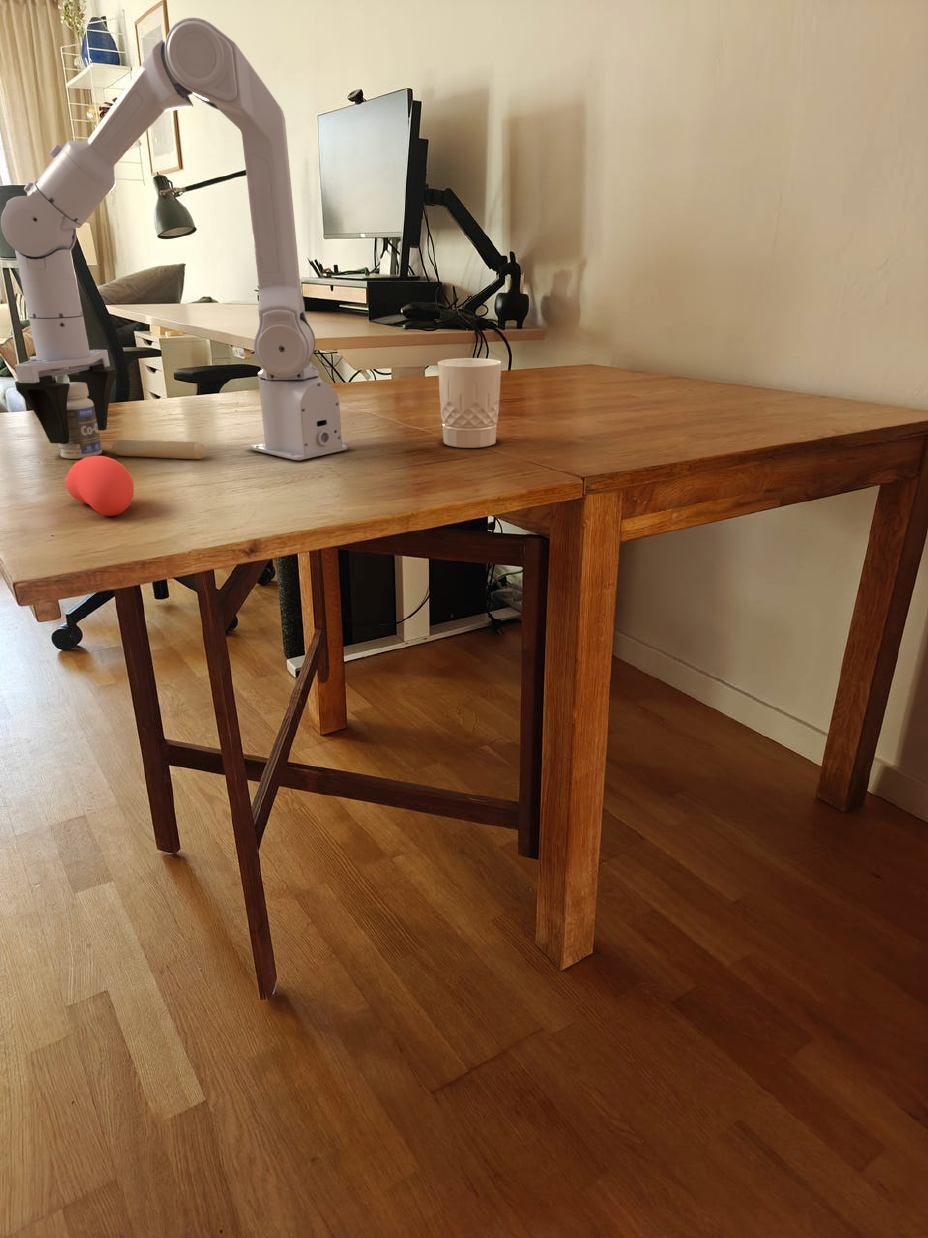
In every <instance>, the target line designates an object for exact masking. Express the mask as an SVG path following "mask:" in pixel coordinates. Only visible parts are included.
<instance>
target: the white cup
mask: <svg viewBox="0 0 928 1238" xmlns="http://www.w3.org/2000/svg"><path fill="white" fill-rule="evenodd" d="M437 373H438V392H439V393H438V394H439V404H440V405H439V407H440V416H441V417H440V418H441V419H440V420H441V422H442V438H443V439H442V440H443V444H445V445H446V446H449V447H454V448H462V449H477V448H478V449H479V448H486V447H490V446H492V445H495V444H496V440H497V426H498V424H497V423H498V421H499V410H500V397H501V396H500V395H501V380H502V379H501V377H502V361H501V360H498V359H493V358H484V357H483V358H481V357H480V358H479V357H460V358H459V357H458V358H457V357H456V358H447V359H442V360H439V361H437Z"/></svg>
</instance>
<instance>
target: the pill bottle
mask: <svg viewBox="0 0 928 1238" xmlns="http://www.w3.org/2000/svg"><path fill="white" fill-rule="evenodd" d="M68 383H69V384H70V387H69V391H68V397H67V419H68V427H69V443H66V444H58V443H57V446H58V450H59V451H58V452H59V454H60V457H62V458H63V459H71V460H75V459H76V460H82V459H83V458H86V457H91V456H100V455H101V454H102V453H103V448H102V443H101V438H100V437H101V436H100V432H99V431H100V430H98V425H97V420H96V414H95V407H94V404H93V402H92V401H91V400H90V399H88V398H87V396H89V394H88V393H89V392H88V388H87V384H86V383H82V382H71V381H70V382H68Z"/></svg>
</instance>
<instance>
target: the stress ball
mask: <svg viewBox="0 0 928 1238" xmlns="http://www.w3.org/2000/svg"><path fill="white" fill-rule="evenodd" d="M65 487H66V490H67V492H68V493H69V495H70V496H71V497H72V498H73V499H75V500H76V501H78V502H81V503H83V504H87V505H89V506H90V507H91V508H92V509H93V510H94V511H96V512H97V513H99V514H100V515H103V516H107V517H112V516H113V517H114V516H115V517H116V516H118V515H120V514H123V512H125V511H126V510H127V508H129V506H130V505H131V502H132V500H133V499H134V498H133V497H134V494H135V485H134V480H133V479H132V476H131V474H130V472H129V471H128V469H127V468H126V467H125V466H124V465H123V464H122V463H120V462H119V461H118V460H116V459H114V458H111V457H110V456H109V457H108V456H105V455H97V456H91V457H86V458H81V459H79V460H78V461H77V462H75V463H74V464H73V465H72V466H71V468H70V469H69V470H68V471H67V475H66V477H65Z"/></svg>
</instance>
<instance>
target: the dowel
mask: <svg viewBox="0 0 928 1238" xmlns="http://www.w3.org/2000/svg"><path fill="white" fill-rule="evenodd" d="M112 450H113V453H114V454H116V455H117V456H121V457H136V458H137V457H139V458H156V459H157V458H158V459H159V458H160V459H161V458H162V459H179V460H180V459H181V460H182V459H183V460H202V459H204V458H205V457H206V456H207V453H208V452H207V451H208V450H207V447H206V445H205V444H204V443H202V442H201V441H199V442H198V441H178V440H177V441H176V440H154V439H151V440H150V439H129V438H128V439H127V438H117V439H116V440H115V441H113V443H112Z"/></svg>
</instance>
